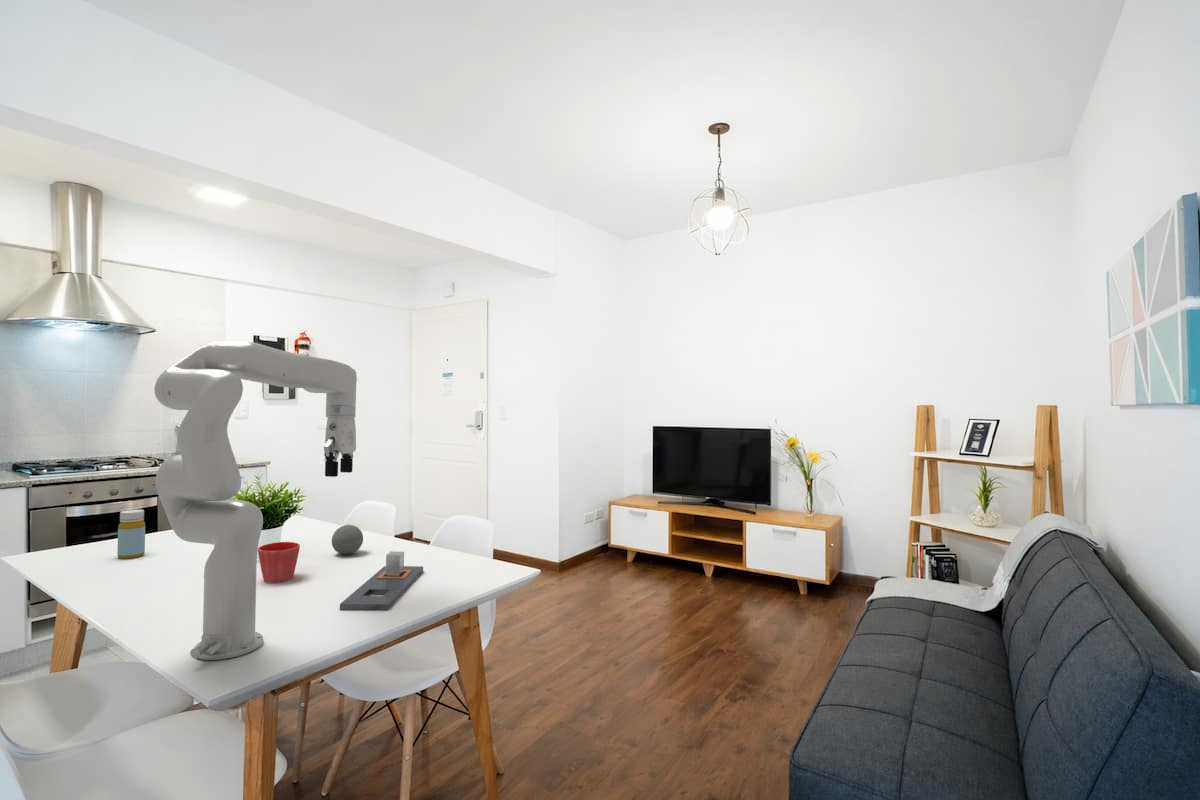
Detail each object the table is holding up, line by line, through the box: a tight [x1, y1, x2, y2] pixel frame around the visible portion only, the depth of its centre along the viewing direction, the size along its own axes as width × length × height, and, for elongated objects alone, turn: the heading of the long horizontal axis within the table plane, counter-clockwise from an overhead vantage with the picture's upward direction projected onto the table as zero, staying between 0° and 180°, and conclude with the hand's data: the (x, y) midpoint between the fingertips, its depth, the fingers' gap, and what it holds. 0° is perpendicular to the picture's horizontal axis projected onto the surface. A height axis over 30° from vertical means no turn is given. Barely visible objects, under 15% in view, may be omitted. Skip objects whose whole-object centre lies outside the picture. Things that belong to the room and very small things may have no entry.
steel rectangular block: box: [385, 551, 405, 577], centre depth 173 cm, size 4×4×8 cm
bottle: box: [117, 509, 146, 560], centre depth 192 cm, size 7×7×15 cm
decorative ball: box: [331, 524, 364, 556], centre depth 200 cm, size 10×10×10 cm
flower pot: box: [257, 541, 301, 583], centre depth 172 cm, size 11×11×10 cm
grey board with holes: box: [339, 565, 424, 611], centre depth 165 cm, size 34×12×2 cm, turn 2°
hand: (339, 474), depth 160 cm, fingers open, 9 cm apart
